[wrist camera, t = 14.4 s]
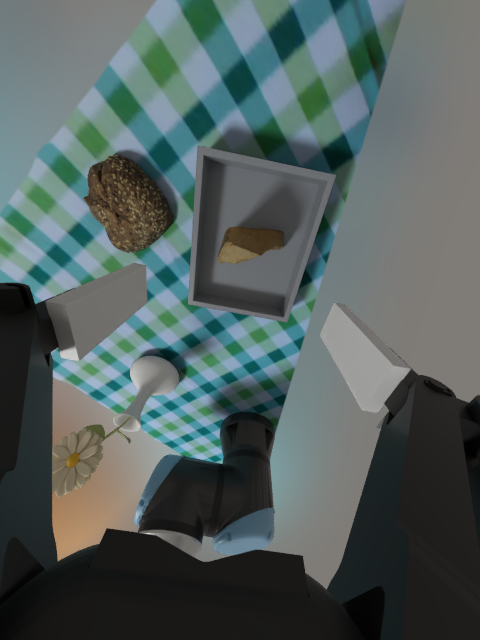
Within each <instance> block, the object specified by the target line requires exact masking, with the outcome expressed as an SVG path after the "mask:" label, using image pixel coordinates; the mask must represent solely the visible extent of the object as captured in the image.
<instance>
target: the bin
mask: <svg viewBox="0 0 480 640" xmlns="http://www.w3.org/2000/svg"><path fill="white" fill-rule="evenodd" d="M335 177H336V175H333V174H329V173H324V172H319V171H315V170H310V169H305V168H301V167H296V166H291V165H287V164H282V163H277V162H273V161H268V160H263V159H259V158H254V157H249V156H245V155H240V154H235V153H231V152H226V151H221V150H217V149H212V148H207V147H203V146H198V148H197V164H196V181H195V197H194V214H193V230H192V247H191V264H190V280H189V297H188V304H190V305H195V306H201V307H206V308H212V309H217V310H223V311H228V312H234V313H239V314H244V315H250V316H255V317H261V318H266V319H272V320H277V321H283V322H287V321H288V318H289V315H290V312H291V309H292V306H293V303H294V300H295V297H296V294H297V291H298V288H299V285H300V282H301V279H302V276H303V273H304V270H305V267H306V264H307V261H308V258H309V255H310V252H311V249H312V246H313V243H314V240H315V237H316V234H317V231H318V228H319V225H320V222H321V219H322V216H323V213H324V210H325V207H326V204H327V201H328V198H329V195H330V192H331V189H332V186H333V183H334V180H335ZM229 227H247V228H264V229H274V230H278V231H283V233H284V248H283V249H281V250H270V251H268V252H266V253H264V254H263V255H262V256H257V257H255V258H252V259H251V260H248V261H246V262H240V263H237V264H233V263H228V262H223V263H219V262H218V253H219V250H220V247H221V245H222V240H223V237H224V234H225V231H226V230H227V229H228V228H229Z"/></svg>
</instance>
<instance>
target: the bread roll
mask: <svg viewBox="0 0 480 640" xmlns="http://www.w3.org/2000/svg"><path fill="white" fill-rule="evenodd" d="M88 186H89V189H88V190H89V193H88V196H86V197H84V201H85V202H86V203H87V204H88V206H89V208H90V211H91V212H92V215H93V217H94V218H95V219H97V220H98V221H99V222H100V223H101V224H102V225H103V226H104V227H105V229H106V232H107V235H108V237H109V239H110V241H111V243H112V244H113V245H114V246H115V247H116V248H117V249H120V250H121V251H124V252H128V253H129V252H137V251H139V250H142V249H146V248H147V247H148V246H149V245H151V244H152V243H154V242H155V241H156V240H157V239H158V238H159V236H160V235H161V234H162V233H163V232H164V231H166V229H167V228H168V227H169V226H170V225H171V223H172V212H171V210H170V208H169V205H168V203H167V200H166V198H165V197H164V196H163V194H162V192H161V191H160V190H159V188H158V187H157V186H156V184H155V181H154V180H152V179H151V178H150V177H149V176H148V175H147V174H145V173H144V172H143V171H142V169H141V168H139V167H138V166H137V165H136V164H135V162H133V161H132V160H129V159H128V158H126V157H122V156H120V155H117V154H115V155H114V156H109V157H108V158H107V159H106V160H105V161H102V162H101V164H95V165H93V166H92V167H90V170H89V173H88Z"/></svg>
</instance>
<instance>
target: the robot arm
mask: <svg viewBox="0 0 480 640" xmlns="http://www.w3.org/2000/svg"><path fill="white" fill-rule="evenodd" d="M146 303H147V283H146V265H142V264H137V263H133V264H131V265H129V266H126V267H124V268H122V269H119V270H117V271H115V272H112V273H110V274H108V275H105V276H103V277H101V278H98V279H96V280H93V281H91V282H89V283H86V284H84V285H82V286H79V287H77V288H73V289H70V290H68V291H66V292H63V293H61V294H59V295H56V297H55V296H54V297H51V298H49V299H47V300H44V301H42V302H40V303H37V304H35V302H34V299H33V296H32V293H31V290H30V287H29V286H28V285H25V284H21V283H0V640H480V395H478V396H476V397H475V398H474V399H473V400H472V401H471V402H470V403H468V402H465V401H462V400H460V399H457V398H456V396H455V394H454V393H453V392H452V390H450V389H449V388H448V387H447V386H445V385H444V384H442V383H441V382H439V381H437V380H435V379H433V378H430V377H428V376H423V375H418V374H416V373H415V372H414V371H413V370H412V369H411V368H410V367H409V366H408V365H407V364H406V363H405V362H404V361H402V359H401V358H400V357H399V356H397V354H396V353H395V352H394V351H393V350H392V349H391V348H389V347H388V346H387V345H386V344H385V343H384V342H383V341H382V340H381V339H380V338H379V337H378V336H377V335H376V334H375V333H374V332H373V331H372V330H371V329H370V328H369V327H368V326H367V325H365V324H364V323H363V322H362V321H361V320H360V319H359V318H358V317H357V316H356V315H355V314H354V313H353V312H352V311H351V310H350V309H349V308H348V307H347V306H346V305H344V304H340V303H334V304H333V307H332V309H331V311H330V314H329V316H328V318H327V320H326V322H325V325H324V327H323V329H322V332H321V334H320V336H321V338H322V340H323V342H324V344H325V345H326V347H327V349H328V351H329V352H330V354H331V356H332V358H333V360H334V361H335V363H336V365H337V367H338V368H339V370H340V372H341V374H342V376H343V377H344V379H345V381H346V383H347V384H348V386H349V388H350V390H351V391H352V393H353V395H354V397H355V399H356V400H357V402H358V404H359V406H360V408H361V409H362V410H364V411H370V412H376V413H378V412H379V410H380V409H381V407H382V406H383V405H384V404H385V405H386V406H387V408H388V409H389V412H388V413H387V414H386V416H385V417H384V418H383V420H382V421H381V422H380V423H379V424H378V426H377V428H380V427H382V428H381V431H380V434H379V438H378V441H377V444H376V448H375V451H374V455H373V458H372V461H371V465H370V468H369V471H368V475H367V478H366V481H365V485H364V488H363V492H362V495H361V498H360V502H359V505H358V508H357V512H356V515H355V518H354V522H353V525H352V528H351V532H350V535H349V538H348V542H347V545H346V548H345V552H344V555H343V559H342V562H341V564H340V566H339V569H338V571H337V572H336V574H335V575H334V577H333V579H332V580H331V582H330V584H329V586H328V588H327V590H326V589H325V588H324V587H323V586H322V585H321V584H320V583H318V582H317V581H316V580H314V579H313V578H312V577H310V576H309V575H307V574H306V573H305V568H304V561H303V556H300V555H293V554H286V553H279V552H271V551H264V550H261V549H263V548H265V547H266V546H268V545H269V544H270V543H271V541H272V540H273V537H274V508H273V495H272V483H271V470H270V456H271V452H272V447H273V443H274V428H273V425H272V423H271V422H270V421H269V420H268V419H266V418H265V417H263V416H261V415H258V414H254V413H238V414H234V415H231V416H229V417H228V418H226V419H225V420H224V421H223V422H222V424H221V429H220V441H221V446H222V452H223V464H219V463H214V462H210V461H205V460H200V459H195V458H191V457H186V456H185V455H183V456H177V455H166V456H165V457H163V458H162V459H161V460H160V462H159V463H158V464H157V466H156V468H155V470H154V471H153V473H152V475H151V477H150V479H149V481H148V483H147V485H146V487H145V489H144V492H143V494H142V498H141V500H140V502H139V505H138V507H137V510H136V513H135V517H134V523H135V524H136V525H137V526H140V527H139V530H138V533H136V532H129V531H122V530H115V529H106V531H105V534H104V536H103V538H102V540H101V542H100V544H97V545H93V546H90V547H87V548H85V549H83V550H80V551H77V552H75V553H73V554H71V555H69V556H67V557H65V558H64V559H61V560H60V561H57V550H56V543H55V538H54V533H53V526H52V384H53V381H52V380H53V359H52V356H51V353H50V352H52V351H53V350H54V349H56V348H57V347H58V348H59V351H60V354H61V358H65V359H71V360H77V361H80V360H81V359H82V358H83V357H84V356H85V355H87V354H88V353H89V352H90V351H91V350H92V349H94V348H95V347H96V346H97V345H98V344H99V343H101V342H102V341H103V340H104V339H105V338H106V337H108V336H109V335H110V334H111V333H112V332H113V331H115V330H116V329H117V328H118V327H119V326H120V325H122V324H123V323H124V322H125V321H126V320H127V319H129V318H130V317H131V316H132V315H133V314H134V313H136V312H137V311H138V310H139V309H140V308H141V307H143V306H144V305H145V304H146ZM203 536H208V537H213V545H214V550H215V551H217V552H219V553H222V554H228V555H233V556H229V557H225V558H221V559H218V560H214V561H210V562H202V561H200V560H198V559H196V558H194V556H196V554H197V553H198V552H199V551H200V550H201V546H202V539H203Z"/></svg>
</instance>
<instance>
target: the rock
mask: <svg viewBox="0 0 480 640" xmlns="http://www.w3.org/2000/svg"><path fill="white" fill-rule="evenodd" d="M283 248H284V233H283V231H278V230H274V229H264V228H247V227H229V228H228V229H227V230H226V231H225V234H224V237H223V240H222V245H221V247H220V250H219V253H218V262H219V263H223V262H228V263H233V264H237V263H240V262H246V261H248V260H251V259H252V258H255V257H257V256H262V255H263V254H264V253H266V252H268V251H270V250H281V249H283Z"/></svg>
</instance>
